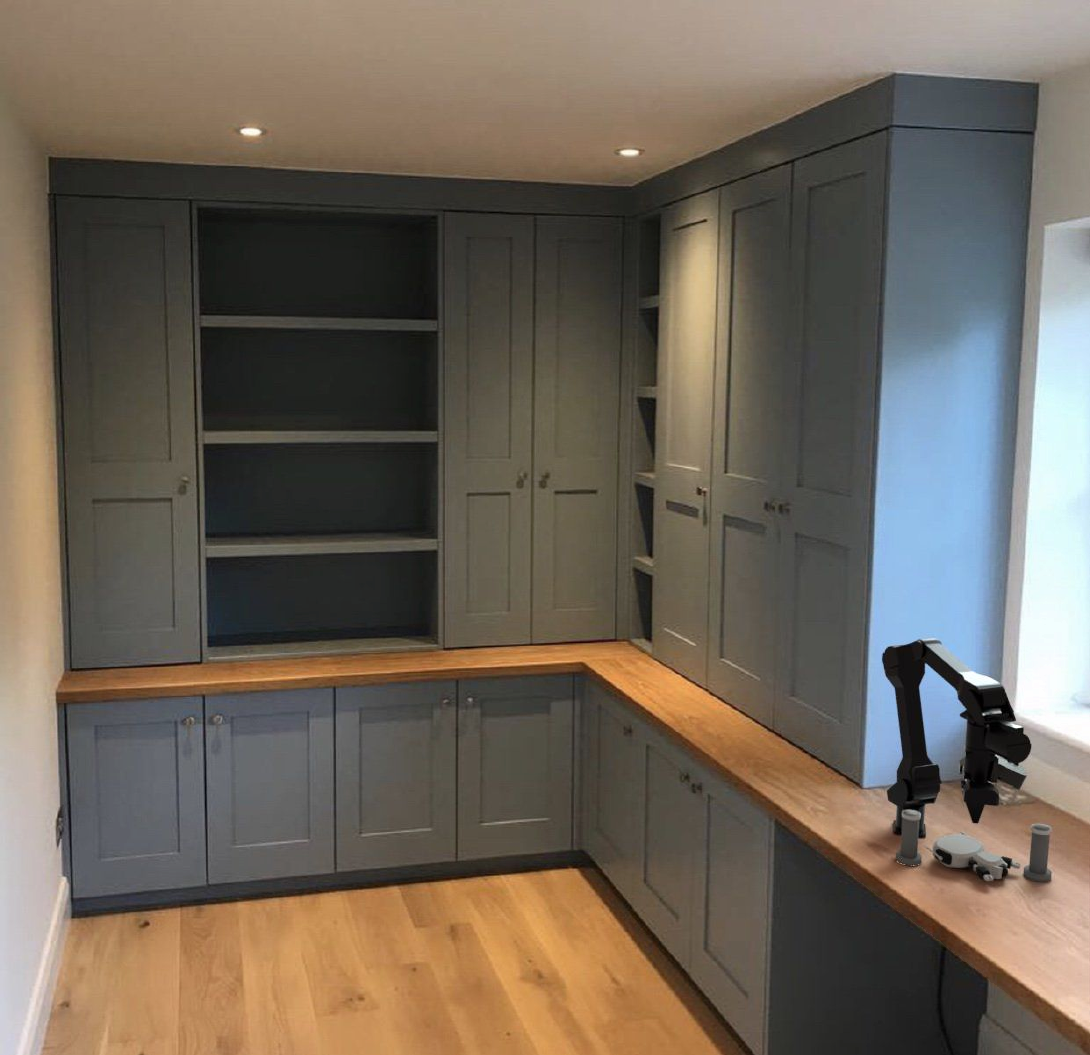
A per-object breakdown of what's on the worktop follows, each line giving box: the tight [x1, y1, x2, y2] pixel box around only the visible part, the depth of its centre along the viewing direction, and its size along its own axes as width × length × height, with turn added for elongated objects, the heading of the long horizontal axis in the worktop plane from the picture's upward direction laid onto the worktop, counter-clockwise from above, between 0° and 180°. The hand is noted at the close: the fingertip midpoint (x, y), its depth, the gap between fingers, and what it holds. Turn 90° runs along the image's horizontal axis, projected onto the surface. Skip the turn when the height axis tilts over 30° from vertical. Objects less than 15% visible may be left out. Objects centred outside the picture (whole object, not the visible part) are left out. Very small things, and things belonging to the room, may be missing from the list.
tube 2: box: [1023, 823, 1052, 883], centre depth 239 cm, size 5×5×10 cm
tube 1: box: [894, 810, 923, 867], centre depth 245 cm, size 5×5×10 cm
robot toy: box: [924, 830, 1021, 882], centre depth 242 cm, size 12×4×15 cm
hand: (975, 822), depth 241 cm, fingers closed
